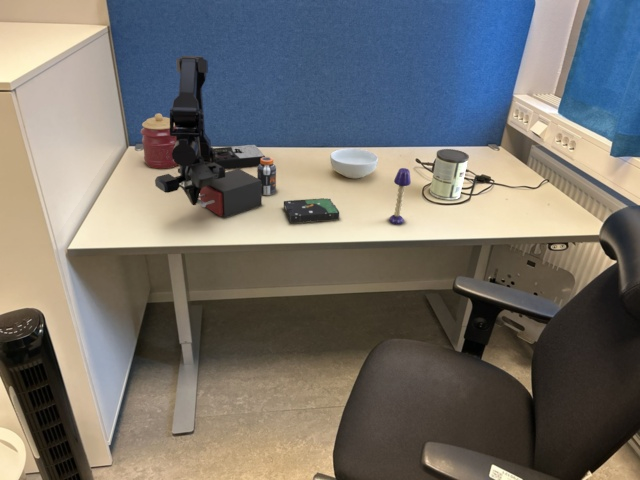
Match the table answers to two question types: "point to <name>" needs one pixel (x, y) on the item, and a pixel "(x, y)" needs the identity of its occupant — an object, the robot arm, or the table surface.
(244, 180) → the drawer cabinet
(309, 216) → the disk drive
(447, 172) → the coffee can
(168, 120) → the kitchen canister
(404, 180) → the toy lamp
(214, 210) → the pod drawer
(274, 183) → the pill bottle
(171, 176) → the robot arm
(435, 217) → the table surface
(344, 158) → the cereal bowl
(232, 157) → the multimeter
